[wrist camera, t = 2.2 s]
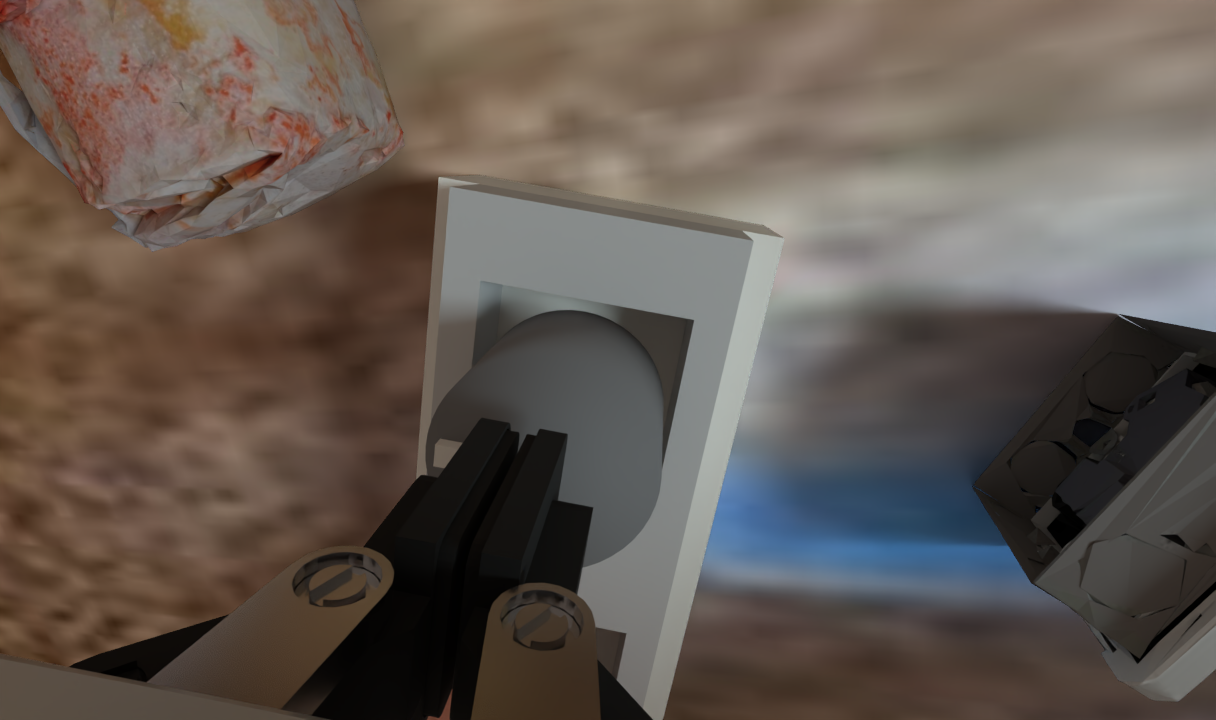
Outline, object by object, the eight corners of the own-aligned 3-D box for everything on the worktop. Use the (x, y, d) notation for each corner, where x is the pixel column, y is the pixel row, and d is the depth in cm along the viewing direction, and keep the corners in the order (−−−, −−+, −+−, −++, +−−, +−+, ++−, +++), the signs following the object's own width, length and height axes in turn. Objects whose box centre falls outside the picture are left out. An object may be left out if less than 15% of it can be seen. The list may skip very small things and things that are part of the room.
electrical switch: (1037, 547, 24) (1225, 754, 15) (919, 479, 24) (1036, 643, 15) (1226, 345, 21) (1596, 452, 12) (1091, 269, 21) (1359, 319, 12)
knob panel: (763, 225, 21) (803, 249, 15) (617, 835, 30) (603, 1005, 24) (479, 174, 21) (402, 178, 15) (420, 792, 31) (358, 949, 25)
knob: (680, 329, 16) (684, 385, 12) (644, 498, 17) (637, 600, 13) (490, 294, 16) (428, 337, 12) (472, 464, 18) (412, 554, 13)
